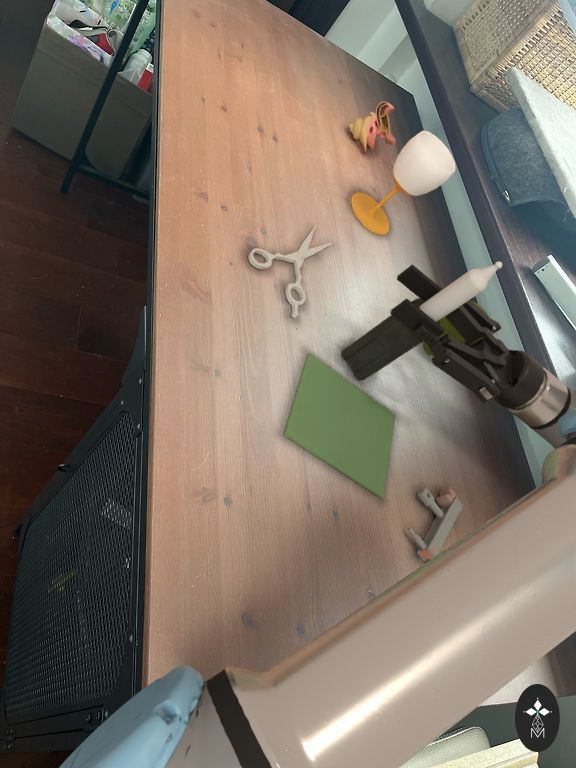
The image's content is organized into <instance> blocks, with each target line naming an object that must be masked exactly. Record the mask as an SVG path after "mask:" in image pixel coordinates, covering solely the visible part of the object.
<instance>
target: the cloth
mask: <svg viewBox="0 0 576 768" xmlns="http://www.w3.org/2000/svg"><path fill="white" fill-rule="evenodd" d="M395 419H396V414H395V413H393V412H392V411H391V410H389V409H388V408H387V407H385V406H384V405H382V404H381V403H379V402H378V401H377V400H375V399H374V398H373V397H371V396H370V395H369V394H367V393H366V392H365V391H363V390H361V389H360V388H359V387H357V386H356V385H354V384H353V383H352V382H351V381H349V380H348V379H346V378H345V377H343V376H342V375H340V373H338V372H337V371H335V370H334V369H332V368H331V367H329V366H328V365H327V364H325V363H324V362H322V361H321V360H320V359H319V358H317V357H315V356H314V355H312V353H310V352H309V353H307V355H306V358H305V361H304V365H303V368H302V371H301V375H300V378H299V382H298V385H297V388H296V392H295V394H294V397H293V402H292V405H291V408H290V412H289V414H288V418H287V421H286V425H285V428H284V431H283V437H285V438H286V439H288V440H290V442H291V441H292V443H295V444H296V445H297V446H299V447H301V448H302V449H304V450H305V451H307V452H309V454H311V455H313V456H314V457H316V458H318V459H319V460H320V461H322V462H323V463H325V464H326V465H328V466H330V467H332V468H333V469H334V470H336V471H337V472H339V473H341V474H342V475H344V476H345V477H347V478H348V479H349V480H351V481H353V482H355V483H356V484H357V485H359V486H361V487H362V488H364V489H365V490H367V491H369V492H370V493H371V494H373V495H375V496H376V497H378V498H379V499H383V498H384V494H385V487H386V480H387V475H388V474H387V473H388V466H389V459H390V454H391V446H392V440H393V433H394V428H395Z"/></svg>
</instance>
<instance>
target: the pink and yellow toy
mask: <svg viewBox="0 0 576 768" xmlns="http://www.w3.org/2000/svg"><path fill="white" fill-rule="evenodd" d="M375 109H376V110H375V112H373V111H370V112H369V113H368V115H366V116H365V117H363V118H362V117H357V118H356V119H355V121H354V122H353V123H349V131H350V132H351V133H352V136H353V139H354V140H355V141H358V140H359V141H360V143H361V145H362V147H363V150H364V154H366V152H367V145H368V146H369V148H370V149H371V150H372V151H373V150H374V148H375V142H376V138H377V137H381V138H382V139H384V141H385V143H386V144H388V145H390V146H395V144H396V141H397V139H396V137H395V136H393V134H392V133H391V123H390V118H389V114H392V113H393V112H394V111H395V109H396V108H395V107H394V106H393V105H392V104H391V103H389V102H387V101H381V102H379V104H378V105H377V106H376V108H375Z"/></svg>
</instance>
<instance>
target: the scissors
mask: <svg viewBox="0 0 576 768" xmlns="http://www.w3.org/2000/svg"><path fill="white" fill-rule="evenodd" d="M316 227H317V224H315V225H314V226H313V228H312V229H311V231H310V232H309V233H308V235H307V237H305V239H304V240H303V242H302V243H301V245H300V247H299V248H298V249H297V251H294V252H292V253H288V254H282V253H280V252H277V253H275V254H273V253H270V252H268V251H267V250H265V249H263V248H259V247H255V248H253V249H251V251H250V252H249V253H248V255H247V257H248V262H249V263H250V265H252V266H253V267H254V268H256V269H258V270H267V269H269V268H271V267H272V261H274V260H280V261H284V262H286V263H292V264H293V268H294V275H295V282H294V283H288V284H287V285H286V286H285V288H284V291H285V292H284V293H285V298H286V300H287V301H288V303H289V304H290V305H291V309H292V310H291V311H292V312H291V318H293V319H296V318H297V317H298V316H299V307H300V306H303V304H304V303H305V302H306V300H307V296H306V292H305V290H304V288H303V287H302V283H301V280H302V279H303V276H302V274H301V270H300V269H301V267H302V265H303V263H304V261H305V259H307V258H309V257H311V256H313V255H315V254H317V253H319V252H321V251H322V250H324V249H326V248H328V247H330V246H331V245H333V244H334V243H335V241H333V242H329V243H325V244H321V245H319V246H315V247H309V246H310V244H311V241H312V239H313V236H314V233H315V230H316ZM254 254H259V255H261V256H262V257H263V258H264V259H265V262H264V263H261V262H258V260H257V259H256V258H255V256H254ZM292 290H295V291H296V292H297V293H298V294H299V298H300V299H299V300H296V299H295V298H294V297H293V295H292Z"/></svg>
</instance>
